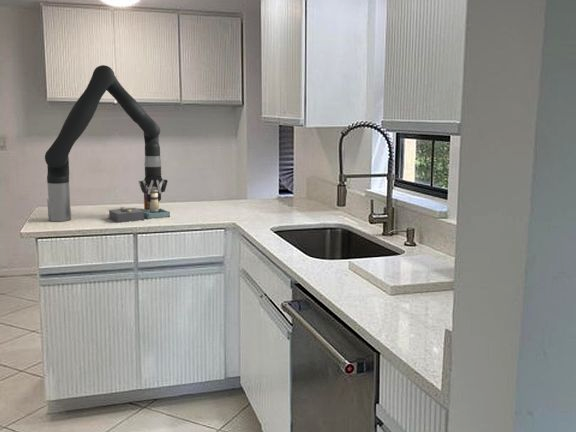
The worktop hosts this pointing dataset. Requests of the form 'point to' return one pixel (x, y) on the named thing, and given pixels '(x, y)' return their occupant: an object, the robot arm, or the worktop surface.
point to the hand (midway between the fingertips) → (153, 201)
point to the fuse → (154, 201)
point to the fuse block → (126, 215)
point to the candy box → (146, 203)
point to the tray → (156, 214)
